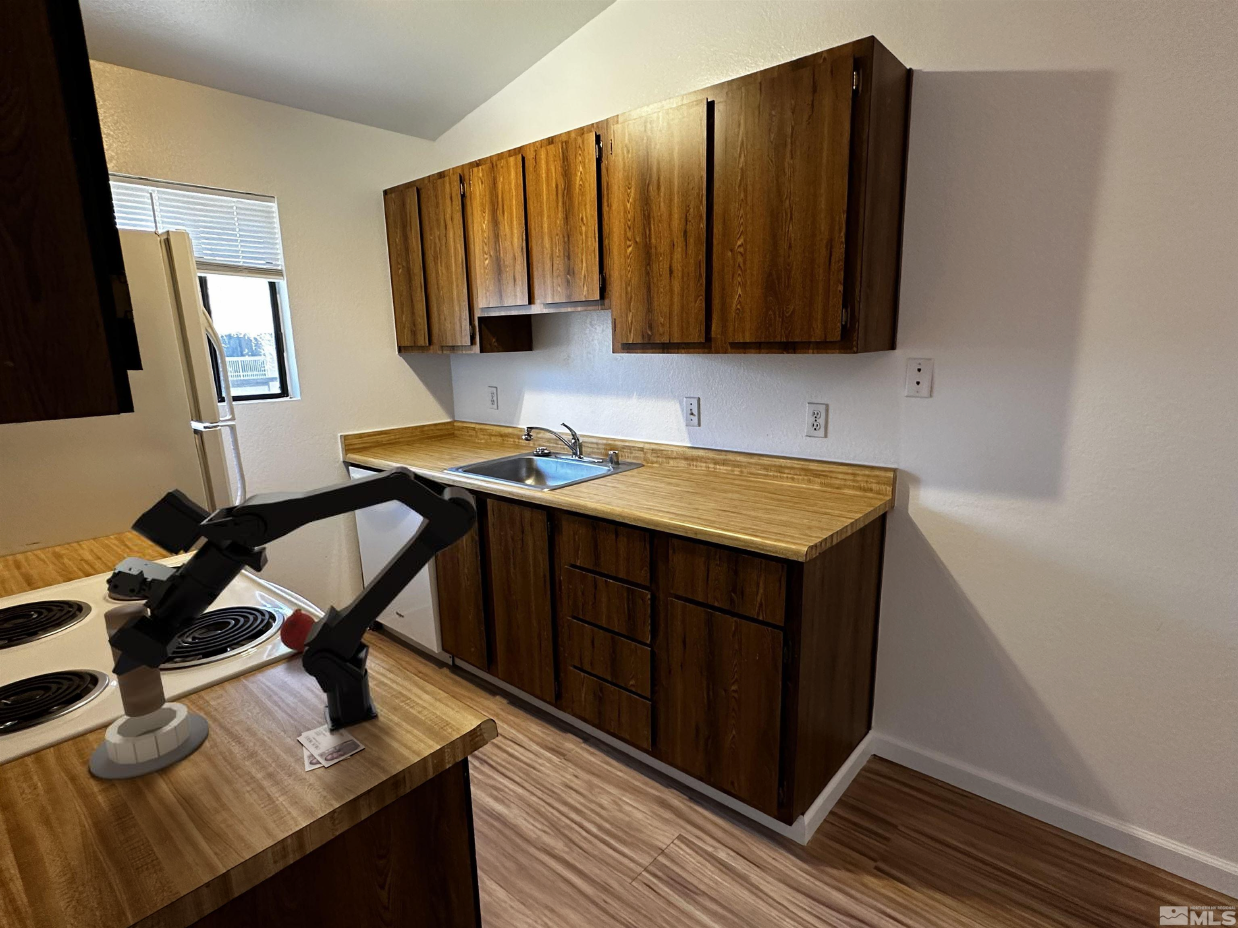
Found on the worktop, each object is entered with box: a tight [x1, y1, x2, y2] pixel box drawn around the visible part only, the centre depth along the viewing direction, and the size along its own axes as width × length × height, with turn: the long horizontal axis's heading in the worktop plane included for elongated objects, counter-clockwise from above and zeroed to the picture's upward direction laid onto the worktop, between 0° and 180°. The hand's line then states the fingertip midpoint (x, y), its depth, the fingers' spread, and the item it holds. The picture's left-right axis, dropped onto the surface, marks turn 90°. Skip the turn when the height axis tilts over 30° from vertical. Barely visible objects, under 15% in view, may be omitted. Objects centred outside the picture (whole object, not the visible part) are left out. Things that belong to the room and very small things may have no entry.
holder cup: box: [88, 701, 210, 780], centre depth 85 cm, size 13×13×4 cm
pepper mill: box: [103, 602, 167, 717], centre depth 82 cm, size 4×4×14 cm
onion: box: [279, 607, 316, 653], centre depth 109 cm, size 6×6×8 cm
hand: (124, 664), depth 82 cm, fingers closed on pepper mill, 4 cm apart
